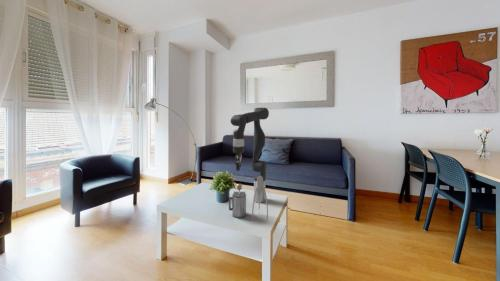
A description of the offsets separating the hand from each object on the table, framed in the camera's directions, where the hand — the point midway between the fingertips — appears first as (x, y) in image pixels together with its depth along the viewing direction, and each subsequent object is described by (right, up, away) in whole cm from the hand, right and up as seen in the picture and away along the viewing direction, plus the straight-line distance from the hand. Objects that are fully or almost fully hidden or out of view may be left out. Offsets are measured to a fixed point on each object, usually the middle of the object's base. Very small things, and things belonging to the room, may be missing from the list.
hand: (238, 168), depth 139 cm
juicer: (+14, -34, +1) cm, 36 cm away
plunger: (0, -29, +3) cm, 29 cm away
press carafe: (-1, -33, +4) cm, 33 cm away
